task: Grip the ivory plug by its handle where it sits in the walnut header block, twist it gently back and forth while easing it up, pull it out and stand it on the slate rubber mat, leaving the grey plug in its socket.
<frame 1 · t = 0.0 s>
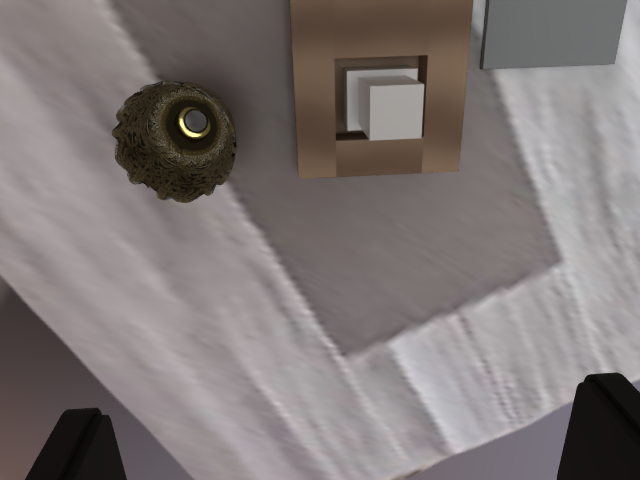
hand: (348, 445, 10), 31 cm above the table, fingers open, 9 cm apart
cup: (196, 120, 38), on the table
grey plug: (374, 94, 37), resting on header
header: (374, 13, 36), on the table
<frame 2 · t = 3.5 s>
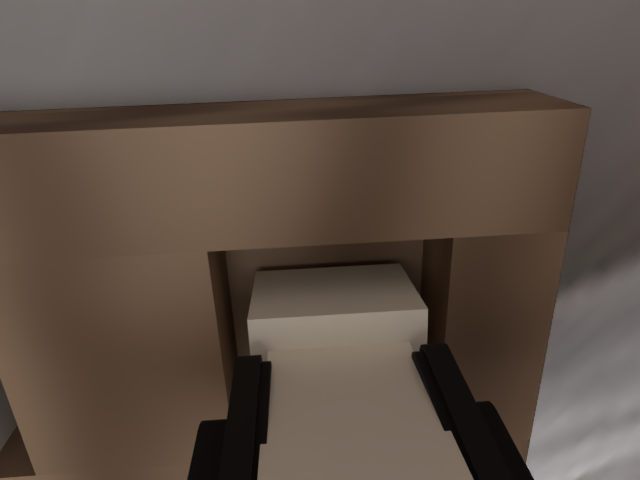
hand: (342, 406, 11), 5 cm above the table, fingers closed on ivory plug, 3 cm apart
header: (144, 309, 15), on the table
ivory plug: (331, 344, 15), point 1 cm above the table, tilted 7°, touching gripper, header
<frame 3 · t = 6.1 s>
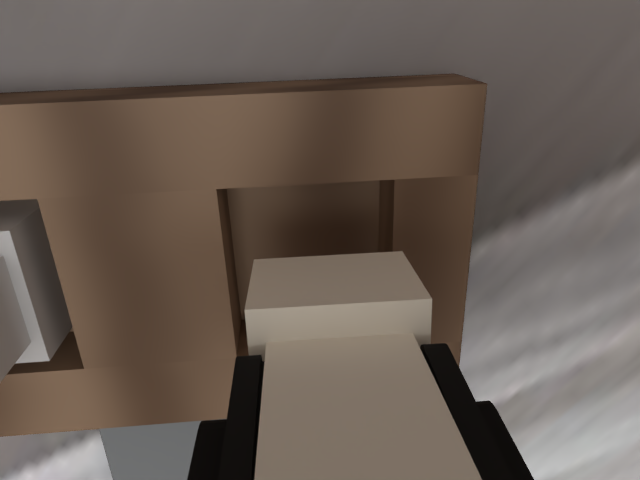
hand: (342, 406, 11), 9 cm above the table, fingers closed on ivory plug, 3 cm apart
grey plug: (11, 262, 19), resting on header
header: (164, 247, 19), on the table
mat: (287, 479, 25), on the table
ivory plug: (331, 334, 14), point 6 cm above the table, tilted 5°, touching gripper
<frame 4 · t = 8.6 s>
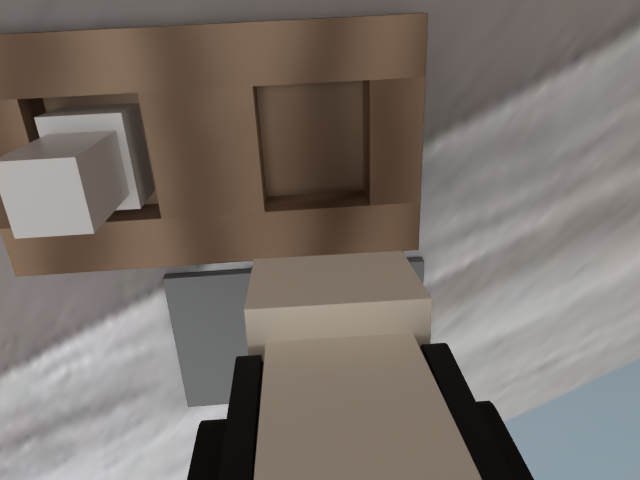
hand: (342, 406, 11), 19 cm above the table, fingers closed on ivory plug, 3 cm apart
grey plug: (109, 150, 27), resting on header
header: (213, 142, 28), on the table
mat: (299, 332, 33), on the table
ivory plug: (331, 334, 14), point 16 cm above the table, tilted 5°, touching gripper
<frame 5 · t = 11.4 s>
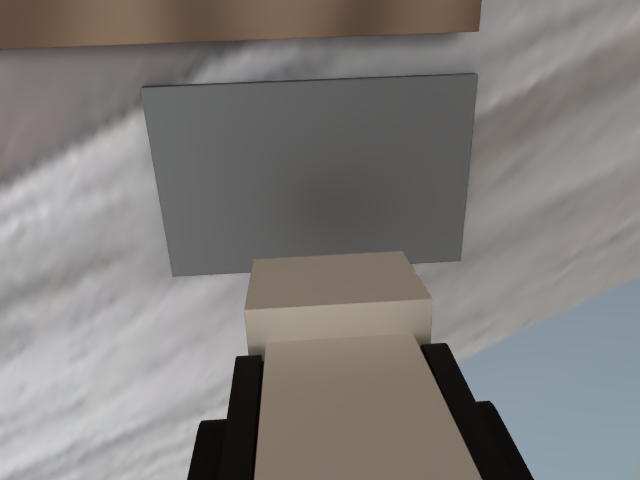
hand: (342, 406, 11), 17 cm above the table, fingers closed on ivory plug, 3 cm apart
mat: (314, 178, 26), on the table
ivory plug: (331, 334, 14), point 13 cm above the table, tilted 6°, touching gripper
when the fingers open (6 cm above the table, at t = 13.9 s): ivory plug drops 2 cm, resting on mat.
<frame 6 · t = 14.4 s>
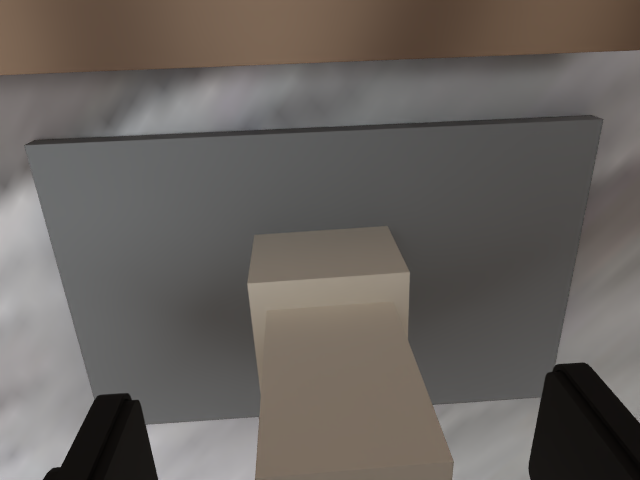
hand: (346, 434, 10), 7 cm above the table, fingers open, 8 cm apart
mat: (324, 280, 16), on the table
ivory plug: (324, 299, 16), point 1 cm above the table, touching mat
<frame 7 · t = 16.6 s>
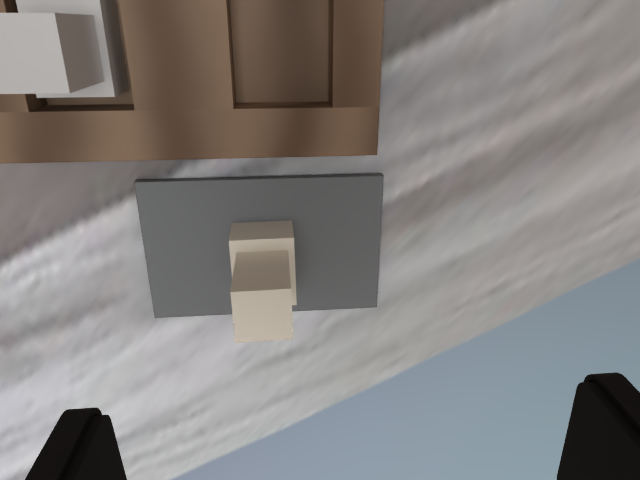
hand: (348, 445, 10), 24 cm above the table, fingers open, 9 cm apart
grey plug: (86, 46, 28), resting on header
header: (186, 46, 29), on the table
mat: (264, 246, 35), on the table
ivory plug: (264, 254, 34), point 1 cm above the table, touching mat
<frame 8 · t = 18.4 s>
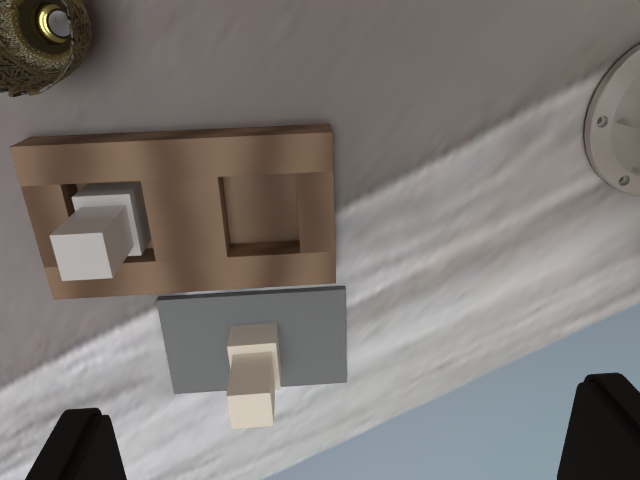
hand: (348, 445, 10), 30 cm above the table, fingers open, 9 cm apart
cup: (62, 23, 34), on the table
grey plug: (120, 212, 39), resting on header
header: (192, 206, 40), on the table
mat: (257, 339, 45), on the table
ivory plug: (256, 346, 45), point 1 cm above the table, touching mat
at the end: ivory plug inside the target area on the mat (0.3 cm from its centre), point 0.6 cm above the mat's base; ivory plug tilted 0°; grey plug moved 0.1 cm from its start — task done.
